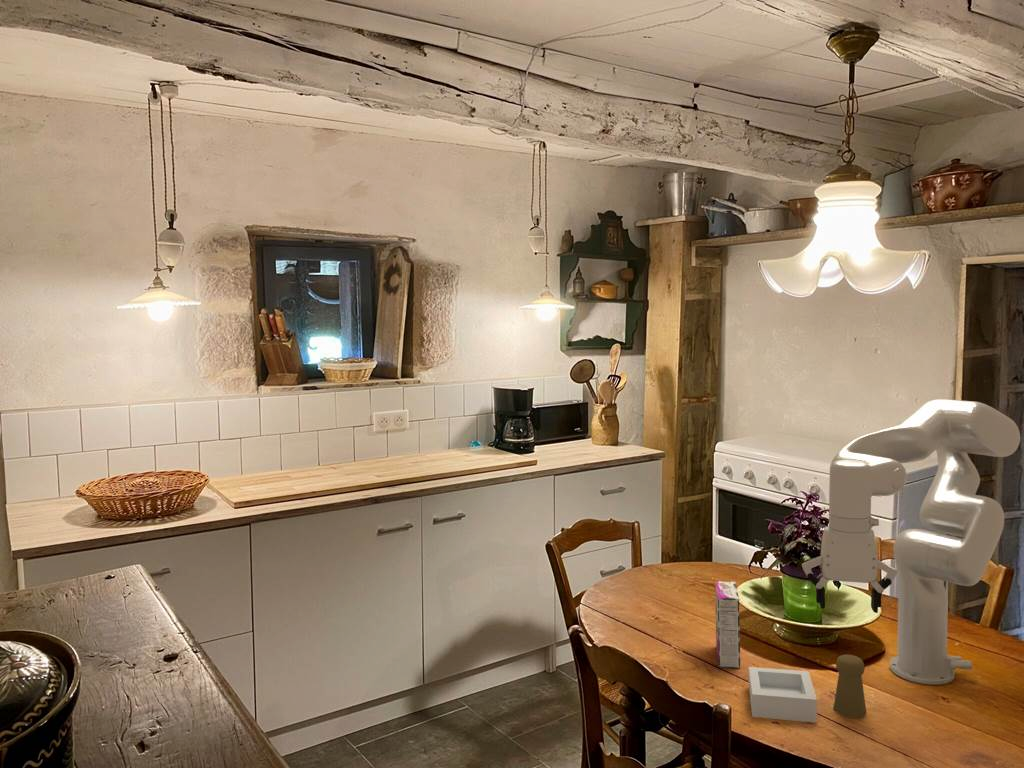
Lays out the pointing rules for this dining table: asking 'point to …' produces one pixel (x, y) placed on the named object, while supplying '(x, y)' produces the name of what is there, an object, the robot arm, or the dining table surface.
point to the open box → (782, 694)
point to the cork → (850, 687)
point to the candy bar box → (727, 624)
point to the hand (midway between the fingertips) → (847, 608)
